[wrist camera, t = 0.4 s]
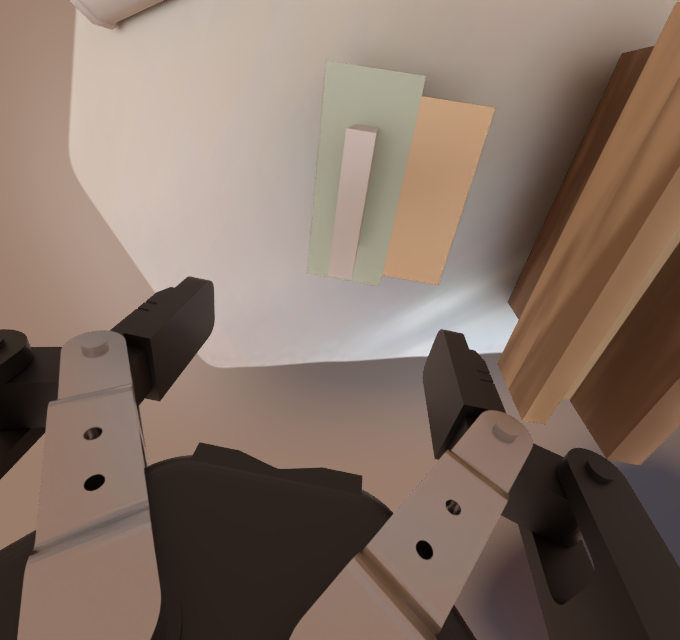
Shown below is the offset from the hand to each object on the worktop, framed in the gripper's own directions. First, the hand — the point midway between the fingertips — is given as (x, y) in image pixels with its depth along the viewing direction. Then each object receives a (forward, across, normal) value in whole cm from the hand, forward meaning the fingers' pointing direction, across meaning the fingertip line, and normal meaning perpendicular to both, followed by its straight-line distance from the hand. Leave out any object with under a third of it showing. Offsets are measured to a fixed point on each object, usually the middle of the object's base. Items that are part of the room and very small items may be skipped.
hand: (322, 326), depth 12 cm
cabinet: (+25, -2, -2) cm, 25 cm away
